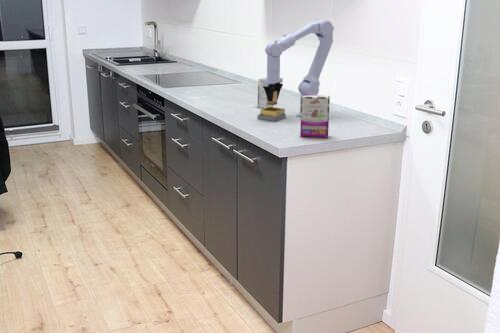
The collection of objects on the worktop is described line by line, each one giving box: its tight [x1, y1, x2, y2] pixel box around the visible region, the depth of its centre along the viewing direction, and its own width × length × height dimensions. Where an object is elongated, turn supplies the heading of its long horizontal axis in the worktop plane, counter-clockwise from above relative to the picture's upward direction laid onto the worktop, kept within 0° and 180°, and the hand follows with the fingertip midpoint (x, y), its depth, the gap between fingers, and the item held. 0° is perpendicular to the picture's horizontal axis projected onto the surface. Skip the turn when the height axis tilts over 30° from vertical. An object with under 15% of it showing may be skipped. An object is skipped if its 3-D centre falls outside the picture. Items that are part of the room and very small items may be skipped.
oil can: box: [267, 90, 278, 106], centre depth 255 cm, size 5×5×7 cm
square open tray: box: [257, 106, 287, 123], centre depth 257 cm, size 9×10×4 cm
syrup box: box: [257, 77, 274, 109], centre depth 280 cm, size 6×6×14 cm
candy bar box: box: [299, 94, 331, 139], centre depth 225 cm, size 11×5×16 cm, turn 80°
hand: (272, 100), depth 256 cm, fingers closed on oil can, 5 cm apart
